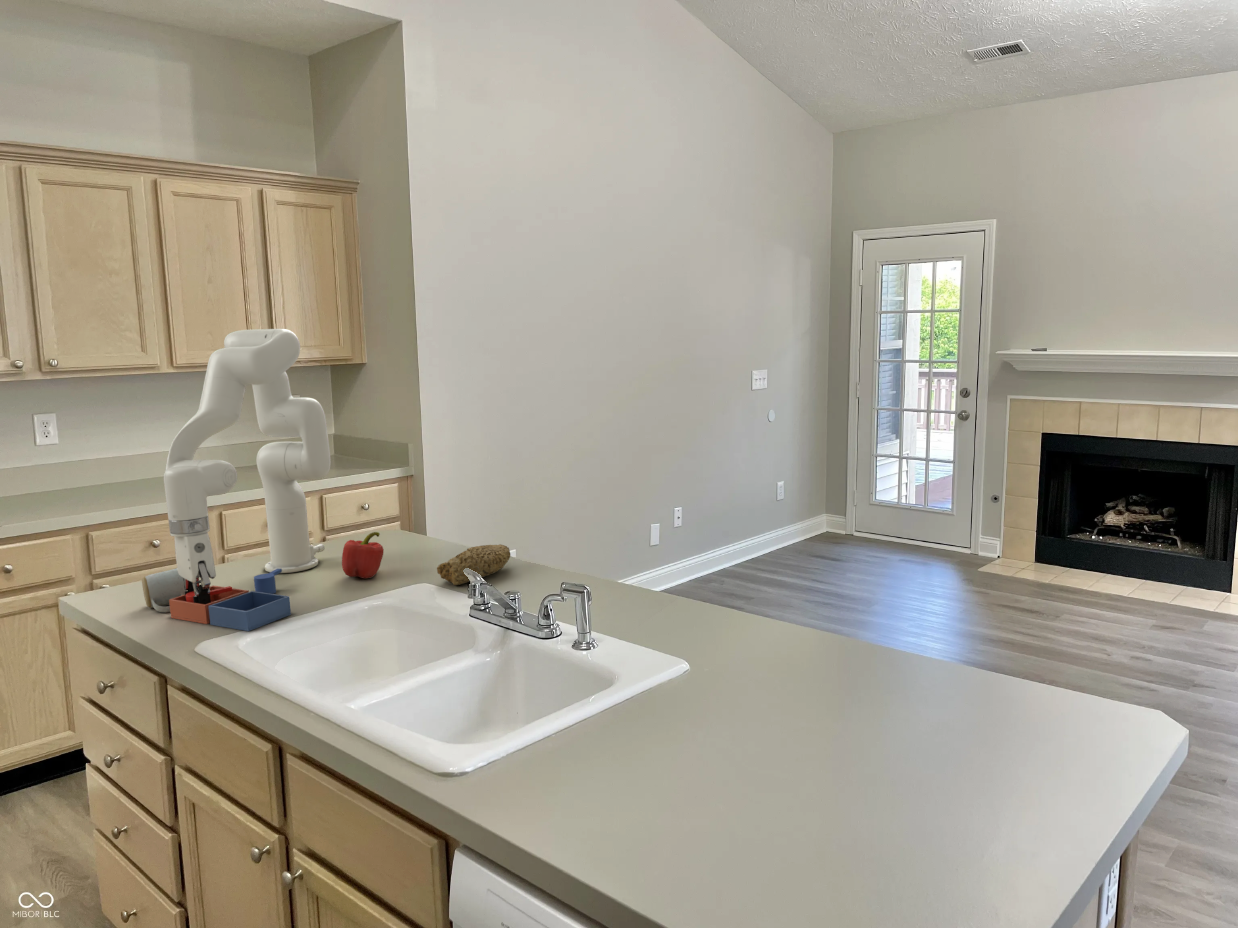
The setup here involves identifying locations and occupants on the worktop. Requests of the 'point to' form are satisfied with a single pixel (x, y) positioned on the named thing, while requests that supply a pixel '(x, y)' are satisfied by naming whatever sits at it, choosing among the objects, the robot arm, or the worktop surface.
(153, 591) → the ceramic mug
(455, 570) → the sponge
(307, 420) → the robot arm
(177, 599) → the red bin
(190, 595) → the red scoop
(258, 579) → the blue scoop
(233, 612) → the blue bin
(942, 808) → the worktop surface
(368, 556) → the vegetable
